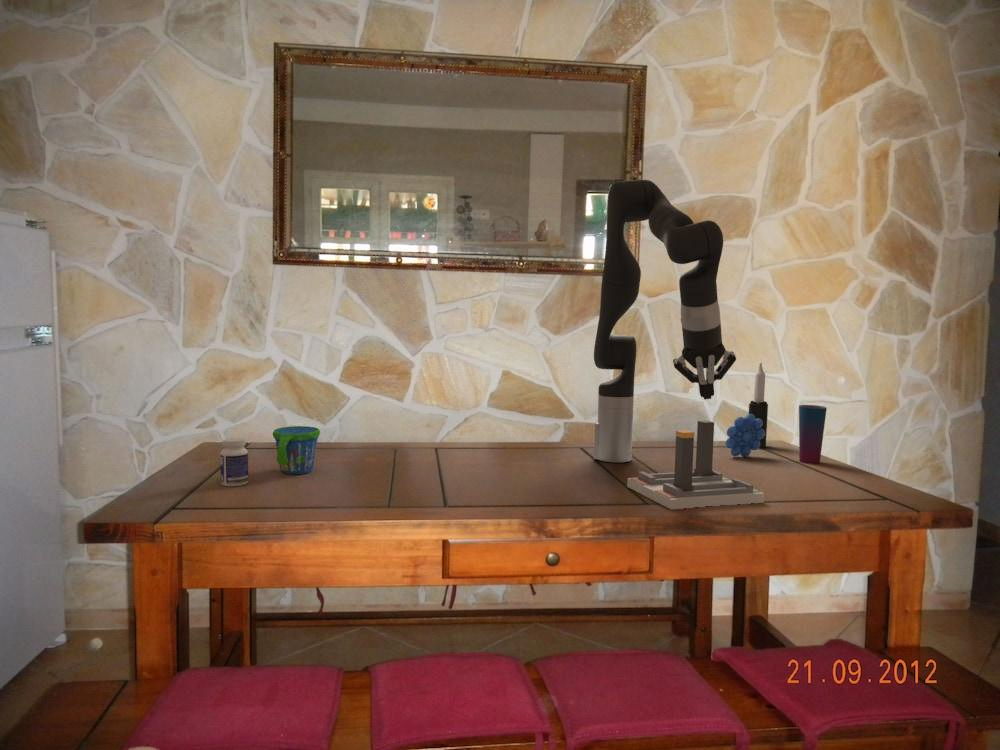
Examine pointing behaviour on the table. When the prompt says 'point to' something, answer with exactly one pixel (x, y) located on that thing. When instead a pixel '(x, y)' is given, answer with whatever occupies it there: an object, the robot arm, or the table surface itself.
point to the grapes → (745, 435)
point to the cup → (811, 432)
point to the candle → (760, 402)
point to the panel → (697, 481)
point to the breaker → (684, 460)
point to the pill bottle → (234, 462)
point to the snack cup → (296, 448)
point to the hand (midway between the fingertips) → (707, 397)
